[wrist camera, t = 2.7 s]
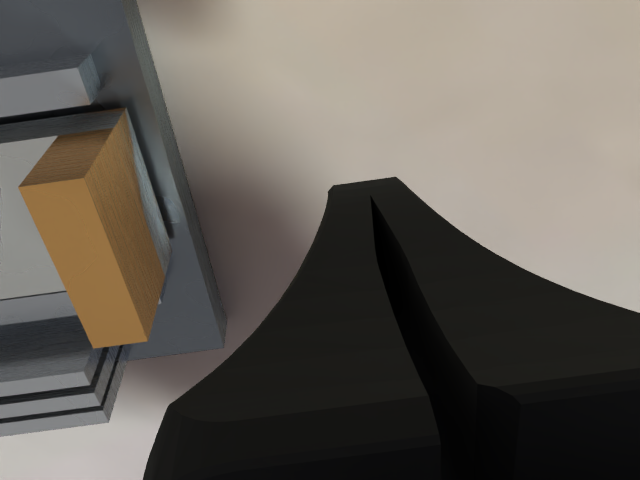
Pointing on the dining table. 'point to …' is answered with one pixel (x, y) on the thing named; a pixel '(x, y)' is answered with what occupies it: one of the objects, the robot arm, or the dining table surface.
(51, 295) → the heatsink plate
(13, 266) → the grey orange block
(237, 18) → the dining table surface
